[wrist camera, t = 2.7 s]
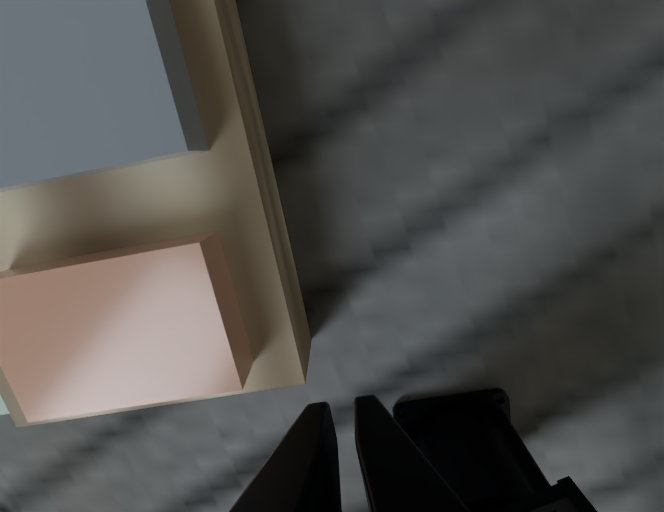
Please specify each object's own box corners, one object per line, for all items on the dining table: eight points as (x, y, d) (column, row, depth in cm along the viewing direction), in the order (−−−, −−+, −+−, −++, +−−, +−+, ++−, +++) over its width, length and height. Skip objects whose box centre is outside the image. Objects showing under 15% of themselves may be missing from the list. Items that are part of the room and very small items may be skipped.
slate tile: (159, -35, 12) (125, -71, 10) (209, 150, 14) (188, 150, 12) (-87, 23, 13) (-164, 0, 11) (-12, 194, 14) (-67, 201, 12)
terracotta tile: (217, 230, 14) (199, 242, 13) (254, 361, 16) (242, 390, 14) (8, 268, 15) (-40, 285, 13) (63, 391, 17) (27, 422, 15)
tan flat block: (226, -38, 15) (189, -101, 12) (311, 339, 20) (305, 383, 16) (-74, 33, 16) (-202, -4, 12) (75, 377, 21) (16, 427, 17)
